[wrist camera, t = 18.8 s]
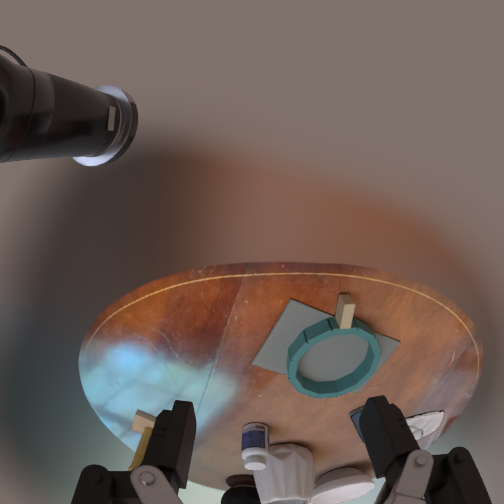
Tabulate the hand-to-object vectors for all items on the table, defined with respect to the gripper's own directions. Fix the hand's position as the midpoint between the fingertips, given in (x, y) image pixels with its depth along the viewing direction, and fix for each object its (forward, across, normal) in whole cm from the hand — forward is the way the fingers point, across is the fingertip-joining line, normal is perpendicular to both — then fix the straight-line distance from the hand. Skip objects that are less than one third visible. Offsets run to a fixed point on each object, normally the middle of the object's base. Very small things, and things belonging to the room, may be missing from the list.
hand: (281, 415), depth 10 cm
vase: (+27, -7, +50) cm, 57 cm away
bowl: (+27, -26, +69) cm, 79 cm away
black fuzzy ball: (+27, +1, +70) cm, 75 cm away
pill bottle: (+27, 0, +38) cm, 47 cm away
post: (+27, +23, +42) cm, 54 cm away
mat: (+26, -12, +17) cm, 33 cm away
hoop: (+25, -12, +15) cm, 32 cm away
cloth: (+26, -41, +48) cm, 69 cm away
